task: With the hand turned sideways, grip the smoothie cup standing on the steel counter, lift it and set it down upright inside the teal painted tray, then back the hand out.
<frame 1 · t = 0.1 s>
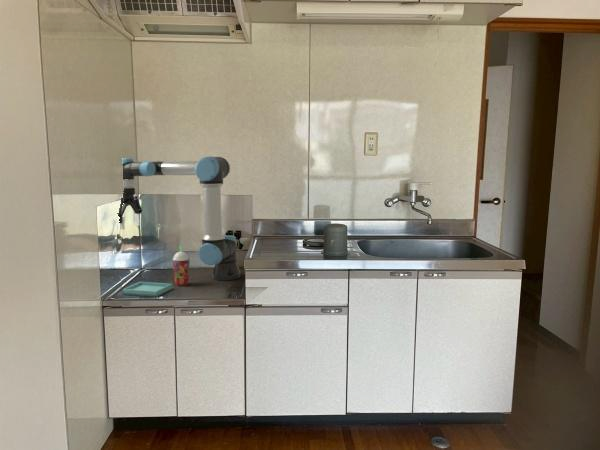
hand: (129, 227, 244), 28 cm above the worktop, tool pointing down, fingers open, 13 cm apart
tray: (148, 291, 222), on the worktop
smoothie: (182, 285, 234), on the worktop
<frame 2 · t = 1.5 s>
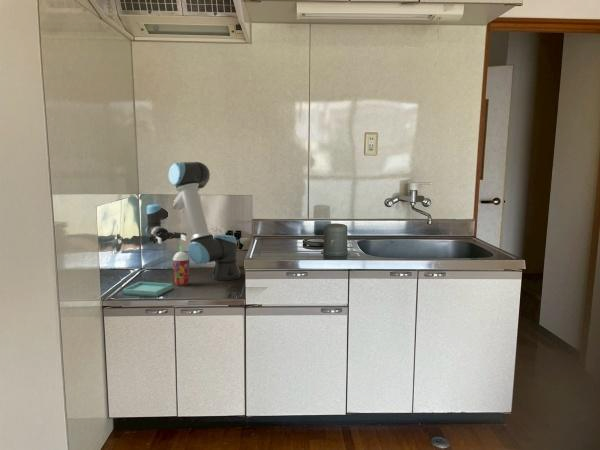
hand: (173, 239, 238), 22 cm above the worktop, tool horizontal, fingers open, 13 cm apart
nothing on the worktop moved.
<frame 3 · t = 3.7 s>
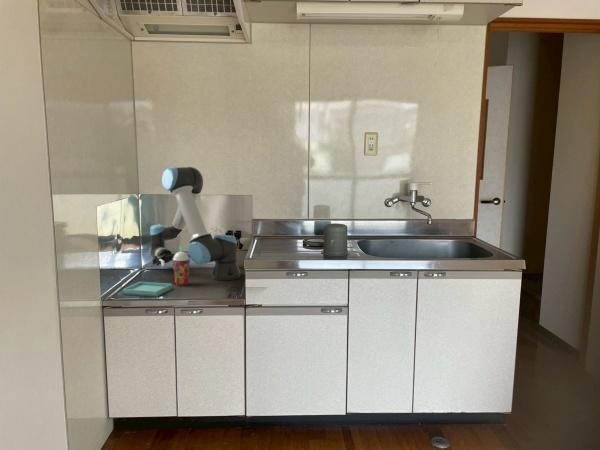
hand: (176, 262, 236), 11 cm above the worktop, tool horizontal, fingers open, 13 cm apart
nothing on the worktop moved.
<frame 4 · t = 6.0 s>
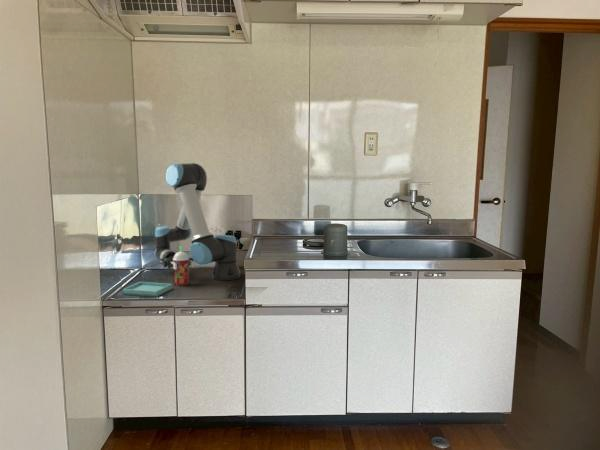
hand: (184, 265, 228), 11 cm above the worktop, tool horizontal, fingers closed on smoothie, 8 cm apart
smoothie: (182, 284, 233), on the worktop, touching gripper
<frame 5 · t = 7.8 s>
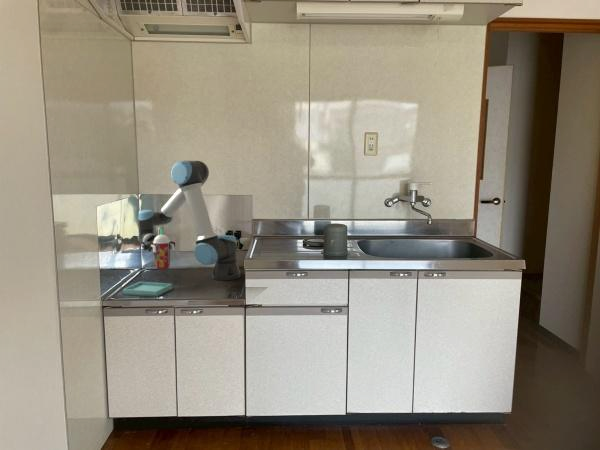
hand: (164, 248, 222), 20 cm above the worktop, tool horizontal, fingers closed on smoothie, 8 cm apart
smoothie: (162, 268, 228), point 9 cm above the worktop, touching gripper
when the fingers open (13 cm above the worktop, at t = 10.0 s): smoothie drops 2 cm, resting on tray.
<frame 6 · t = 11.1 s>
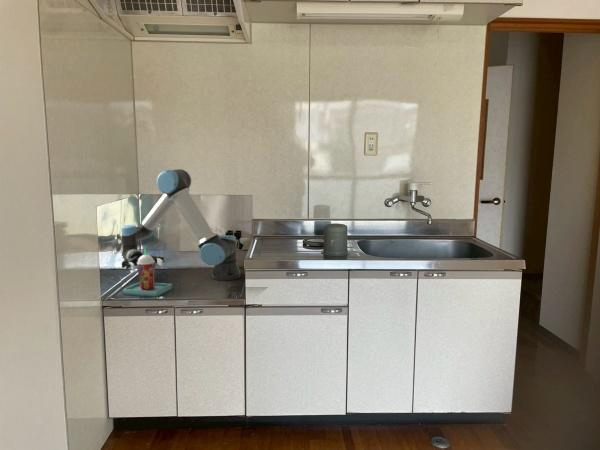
hand: (148, 265, 218), 14 cm above the worktop, tool horizontal, fingers open, 13 cm apart
smoothie: (147, 289, 222), point 1 cm above the worktop, touching tray
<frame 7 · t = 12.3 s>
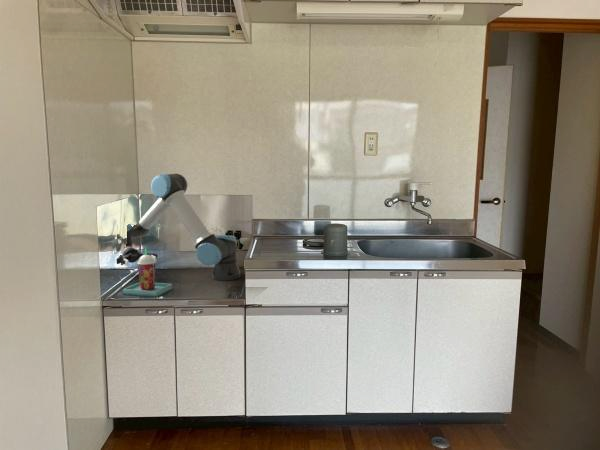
hand: (142, 261, 225), 14 cm above the worktop, tool horizontal, fingers open, 13 cm apart
nothing on the worktop moved.
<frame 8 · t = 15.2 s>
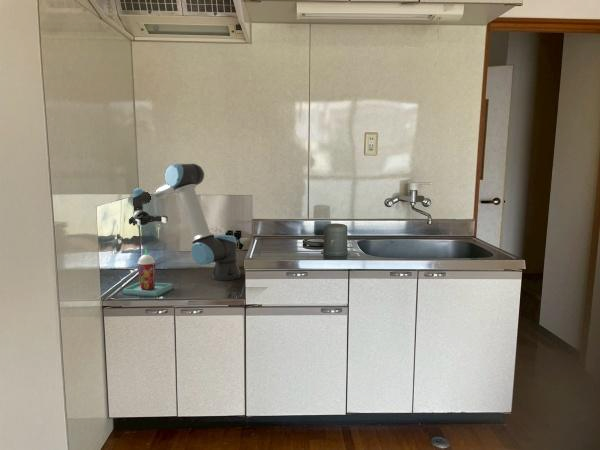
hand: (153, 221, 234), 32 cm above the worktop, tool horizontal, fingers open, 13 cm apart
nothing on the worktop moved.
at the end: smoothie inside the target area on the tray (0.1 cm from its centre), point 0.8 cm above the tray's base; smoothie tilted 0°; the gripper is holding nothing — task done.
